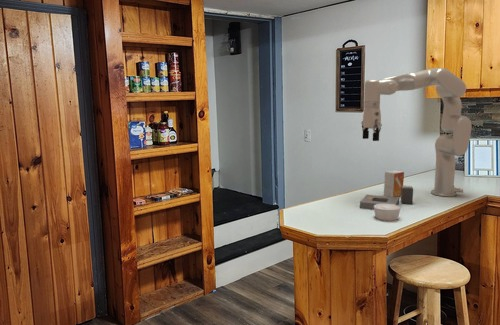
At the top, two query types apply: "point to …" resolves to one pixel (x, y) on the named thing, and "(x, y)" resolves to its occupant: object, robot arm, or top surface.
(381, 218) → the ramekin
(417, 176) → the top surface
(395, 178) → the small box
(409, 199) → the plug
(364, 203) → the socket block
